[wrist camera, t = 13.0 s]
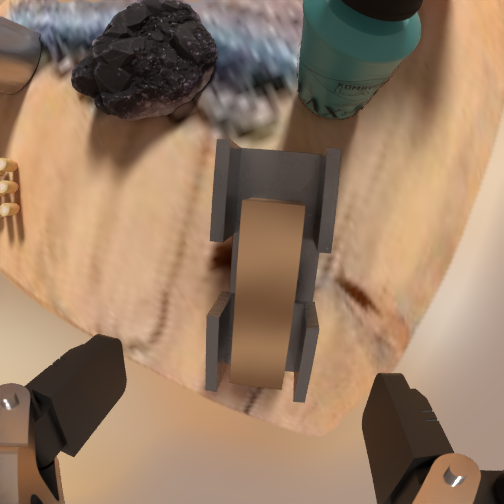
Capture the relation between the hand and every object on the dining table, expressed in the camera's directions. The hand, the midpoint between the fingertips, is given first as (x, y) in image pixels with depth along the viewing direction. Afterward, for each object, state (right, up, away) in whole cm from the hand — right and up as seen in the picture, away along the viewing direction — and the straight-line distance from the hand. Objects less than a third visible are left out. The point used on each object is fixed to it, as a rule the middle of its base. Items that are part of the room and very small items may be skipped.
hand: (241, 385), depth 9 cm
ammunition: (-33, +13, +24) cm, 43 cm away
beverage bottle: (+8, +19, +17) cm, 27 cm away
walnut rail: (+2, +2, +14) cm, 14 cm away
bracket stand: (+3, +4, +21) cm, 22 cm away
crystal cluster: (-9, +24, +19) cm, 32 cm away
